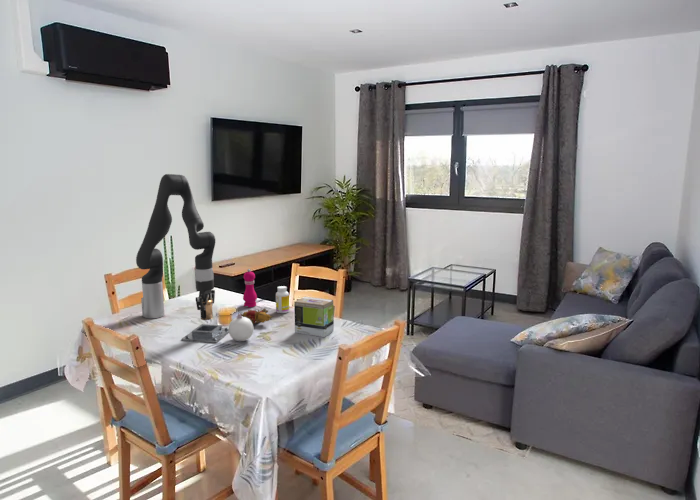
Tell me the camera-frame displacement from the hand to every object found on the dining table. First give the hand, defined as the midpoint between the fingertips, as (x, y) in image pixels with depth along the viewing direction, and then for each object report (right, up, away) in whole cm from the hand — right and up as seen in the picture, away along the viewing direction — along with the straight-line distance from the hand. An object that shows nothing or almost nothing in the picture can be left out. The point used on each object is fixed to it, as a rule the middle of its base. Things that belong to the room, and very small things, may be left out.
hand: (206, 316), depth 215 cm
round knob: (0, -1, 0) cm, 1 cm away
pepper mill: (+10, -1, +46) cm, 47 cm away
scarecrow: (+18, -6, +18) cm, 26 cm away
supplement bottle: (+28, -3, +36) cm, 46 cm away
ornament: (+16, -10, -4) cm, 19 cm away
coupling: (0, -9, +2) cm, 9 cm away
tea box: (+46, -8, +7) cm, 48 cm away
